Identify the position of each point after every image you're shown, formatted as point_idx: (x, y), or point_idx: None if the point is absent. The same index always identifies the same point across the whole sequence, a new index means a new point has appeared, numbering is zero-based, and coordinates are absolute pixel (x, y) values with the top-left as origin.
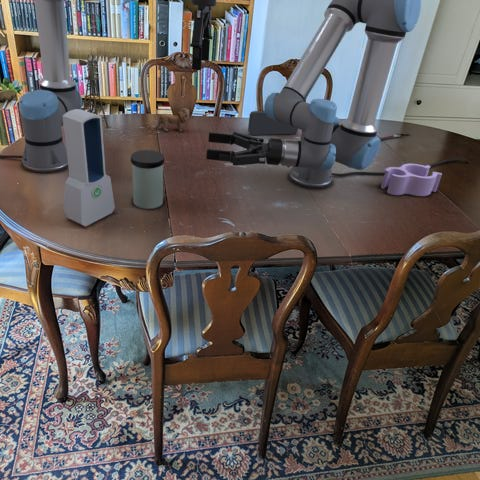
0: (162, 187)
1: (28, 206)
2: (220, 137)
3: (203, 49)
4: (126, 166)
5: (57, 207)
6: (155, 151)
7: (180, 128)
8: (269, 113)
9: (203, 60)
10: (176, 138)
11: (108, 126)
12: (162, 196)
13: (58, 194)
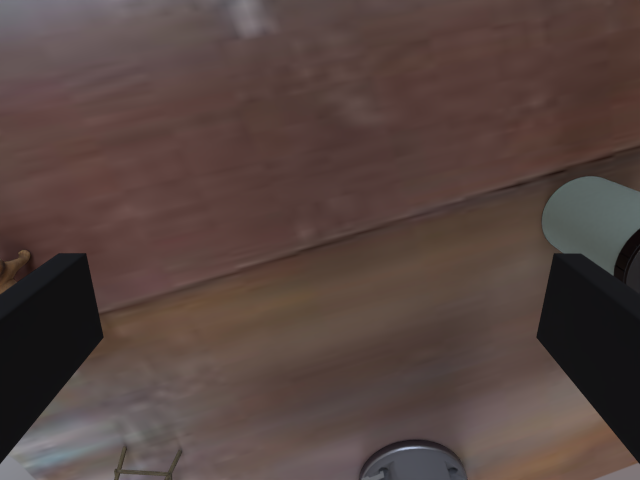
0: (622, 188)
1: None
2: None
3: (21, 396)
4: (374, 326)
5: None
6: (638, 259)
7: (22, 259)
8: None
9: (97, 309)
10: (99, 251)
11: (123, 447)
12: (604, 181)
13: (562, 407)
